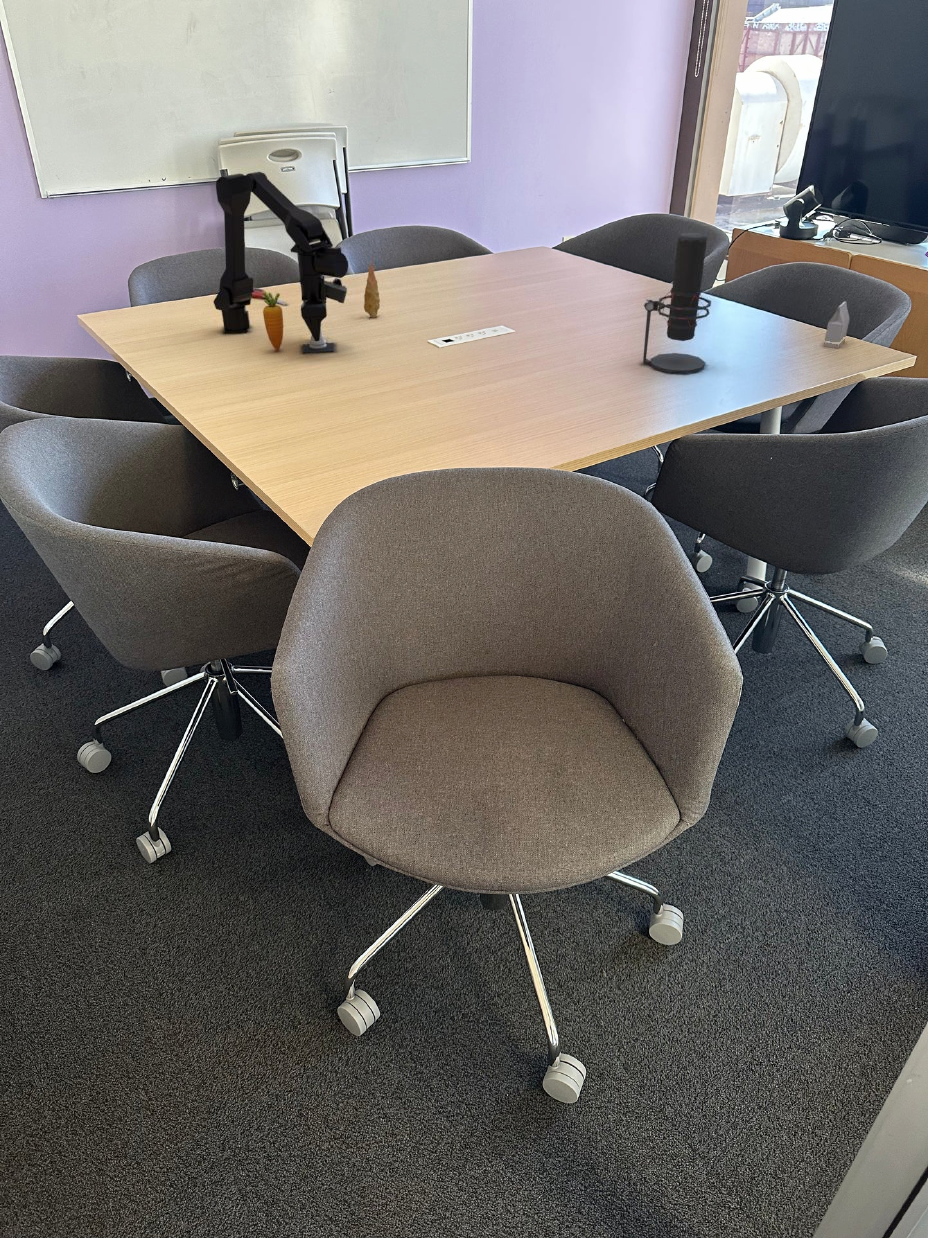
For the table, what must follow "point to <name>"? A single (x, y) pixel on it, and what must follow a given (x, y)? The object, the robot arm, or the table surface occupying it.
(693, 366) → the microphone
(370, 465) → the table surface
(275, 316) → the carrot
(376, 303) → the stone tool
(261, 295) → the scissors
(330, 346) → the coaster
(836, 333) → the grey pointed faceted piece
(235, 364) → the table surface
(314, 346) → the rook chess piece
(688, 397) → the table surface
